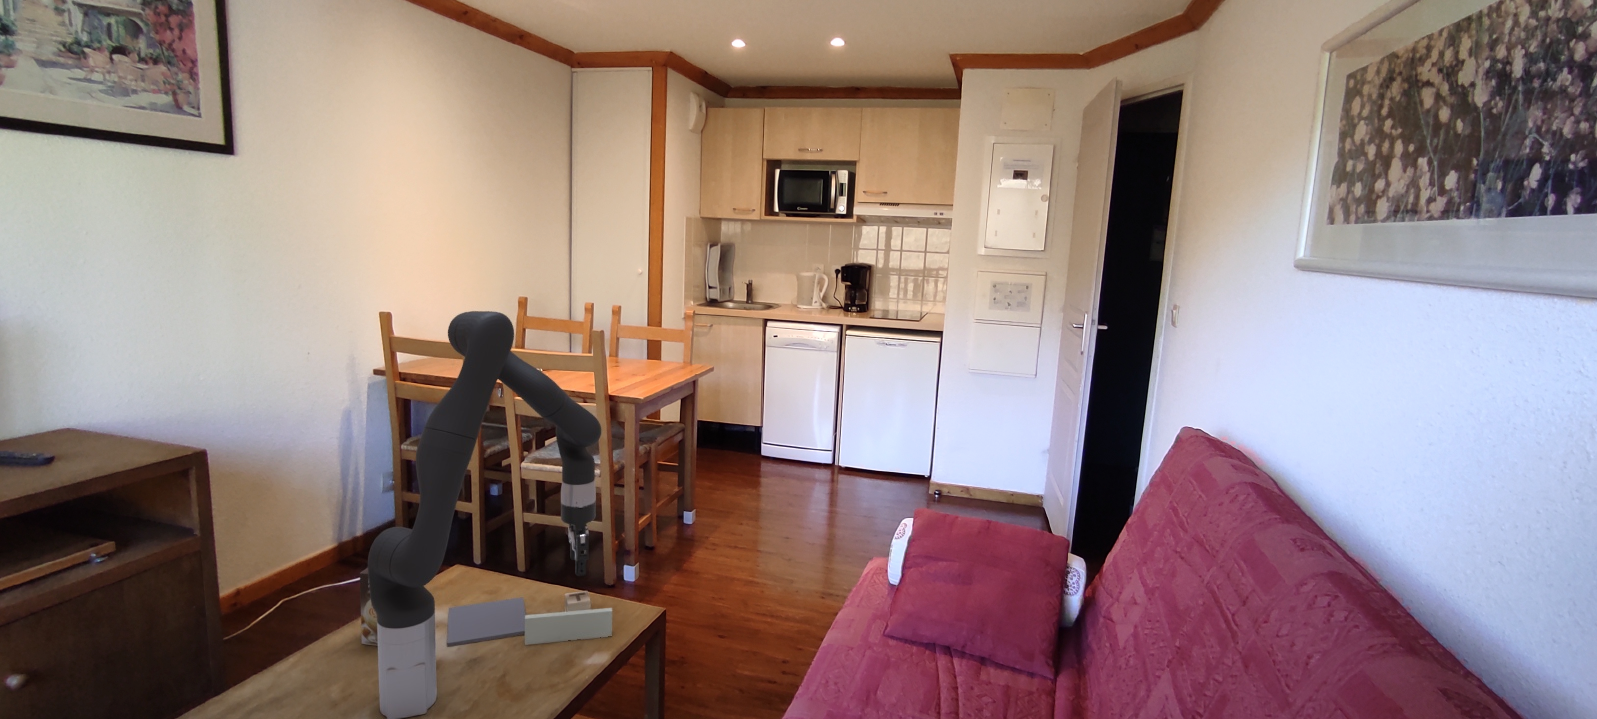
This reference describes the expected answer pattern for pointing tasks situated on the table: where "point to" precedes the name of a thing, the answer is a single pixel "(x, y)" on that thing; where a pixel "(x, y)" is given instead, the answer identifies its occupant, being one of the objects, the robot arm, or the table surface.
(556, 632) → the screen
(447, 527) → the robot arm
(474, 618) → the mat
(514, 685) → the table surface
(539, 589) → the table surface
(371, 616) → the coffee box
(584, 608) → the letter cube
